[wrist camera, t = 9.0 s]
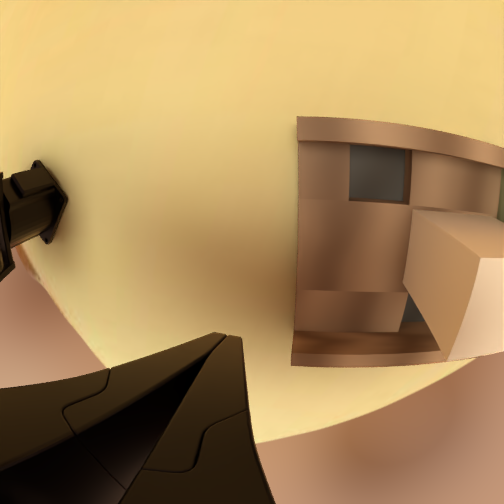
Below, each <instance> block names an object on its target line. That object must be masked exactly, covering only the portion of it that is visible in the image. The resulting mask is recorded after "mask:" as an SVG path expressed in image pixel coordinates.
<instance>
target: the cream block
mask: <svg viewBox="0 0 504 504" xmlns="http://www.w3.org/2000/svg"><path fill="white" fill-rule="evenodd" d="M403 284H404V286H405V287H406V289H407V291H408V292H409V294H410V296H411V297H412V299H413V301H414V302H415V304H416V306H417V307H418V309H419V311H420V313H421V314H422V316H423V318H424V320H425V321H426V323H427V325H428V327H429V329H430V330H431V332H432V334H433V336H434V338H435V340H436V342H437V344H438V346H439V348H440V350H441V352H442V353H443V356H444V358H445V360H446V362H447V361H454V360H461V359H467V358H473V357H478V356H483V355H488V354H493V353H498V352H502V351H504V223H503V222H501V221H499V220H498V219H496V218H494V217H490V216H481V215H472V214H462V213H451V212H439V211H426V210H413V212H412V222H411V231H410V239H409V247H408V254H407V260H406V267H405V272H404V278H403Z"/></svg>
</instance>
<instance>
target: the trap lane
mask: <svg viewBox="0 0 504 504" xmlns="http://www.w3.org/2000/svg"><path fill="white" fill-rule="evenodd" d="M297 140H298V152H299V214H298V257H297V283H296V304H295V321H294V335H293V345H292V354H291V366H307V367H389V366H406V365H419V364H430V363H440V362H446V360H445V358H444V356H443V353H442V352H441V350H440V348H439V346H438V344H437V342H436V340H435V338H434V336H433V334H432V332H431V330H430V329H429V327H428V325H427V323H426V321H425V320H424V318H423V316H422V314H421V313H420V311H419V309H418V307H417V306H416V304H415V302H414V301H413V299H412V297H411V296H410V294H409V292H408V291H407V289H406V287H405V286H404V284H403V278H404V272H405V267H406V260H407V254H408V247H409V239H410V231H411V222H412V212H413V210H426V211H439V212H451V213H462V214H472V215H481V216H490V217H494V218H496V219H498V220H499V221H501V222H503V223H504V148H502V147H499V146H496V145H492V144H489V143H486V142H482V141H479V140H475V139H471V138H467V137H463V136H459V135H455V134H451V133H446V132H442V131H437V130H432V129H426V128H421V127H415V126H409V125H402V124H395V123H388V122H380V121H371V120H360V119H348V118H332V117H299V116H297ZM483 356H484V355H483ZM478 357H482V356H478ZM473 358H476V357H473ZM467 359H470V358H467ZM461 360H463V359H461ZM454 361H456V360H454ZM447 362H448V361H447Z"/></svg>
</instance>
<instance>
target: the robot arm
mask: <svg viewBox="0 0 504 504" xmlns="http://www.w3.org/2000/svg"><path fill="white" fill-rule="evenodd" d="M2 178H3V172H0V282H1V281H2V280H3V279H4V278H5V277H6V276H7V275H8V274H9V273H10V272H11V271H12V270H13V269H14V268H15V262H14V261H13V257H12V252H11V248H13V247H15V246H17V245H19V244H21V243H23V242H25V241H27V240H30V239H32V238H34V237H36V236H38V235H39V236H40V237H41V238H42V240H43V241H44V242H45V243H46V244H50V243H51V241H52V239H53V236H54V233H55V230H56V228H57V225H58V222H59V220H60V217H61V215H62V212H63V210H64V208H65V205H66V203H67V197H66V195H65V194H64V193H63V191H62V190H61V189H60V187H59V186H58V185H57V184H56V182H55V181H54V180H53V178H52V177H51V176H50V175H49V173H48V172H47V171H46V169H45V168H44V166H43V165H42V164H41V162H40V161H39V160H36V161H34V162H33V164H32V167H31V170H27V171H23V172H19V173H15V174H12V175H11V177H10V178H6V179H2ZM0 504H276V503H275V501H274V498H273V496H272V493H271V490H270V487H269V484H268V482H267V479H266V476H265V473H264V470H263V468H262V465H261V462H260V459H259V455H258V452H257V448H256V445H255V441H254V436H253V430H252V424H251V416H250V409H249V400H248V391H247V382H246V372H245V363H244V353H243V343H242V338H241V337H238V336H232V335H228V336H227V335H226V334H221V333H216V332H213V333H210V334H208V335H205V336H203V337H200V338H197V339H195V340H192V341H189V342H186V343H184V344H181V345H178V346H175V347H172V348H170V349H167V350H164V351H161V352H158V353H155V354H152V355H149V356H146V357H143V358H140V359H137V360H134V361H131V362H128V363H125V364H121V365H118V366H115V367H112V368H111V370H110V368H107V369H104V370H100V371H97V372H93V373H90V374H86V375H82V376H78V377H73V378H68V379H63V380H58V381H52V382H46V383H40V384H33V385H26V386H18V387H10V388H1V389H0Z"/></svg>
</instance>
